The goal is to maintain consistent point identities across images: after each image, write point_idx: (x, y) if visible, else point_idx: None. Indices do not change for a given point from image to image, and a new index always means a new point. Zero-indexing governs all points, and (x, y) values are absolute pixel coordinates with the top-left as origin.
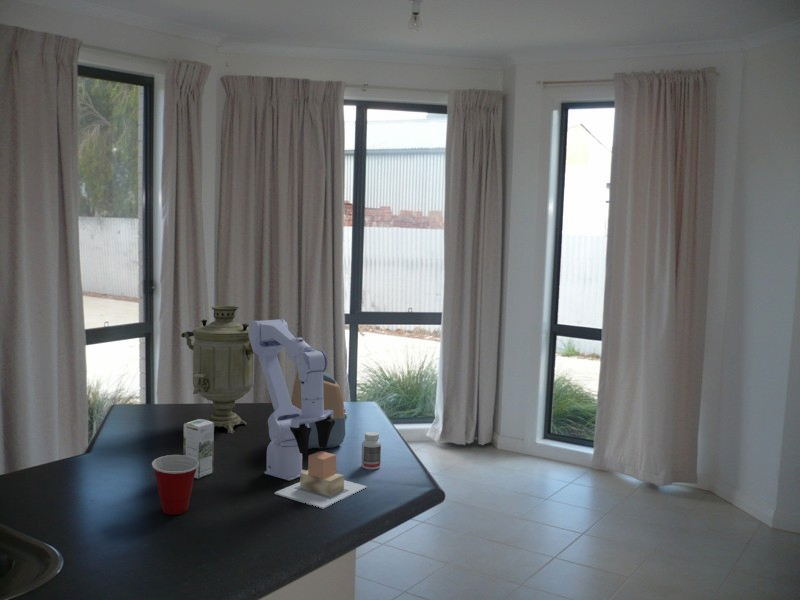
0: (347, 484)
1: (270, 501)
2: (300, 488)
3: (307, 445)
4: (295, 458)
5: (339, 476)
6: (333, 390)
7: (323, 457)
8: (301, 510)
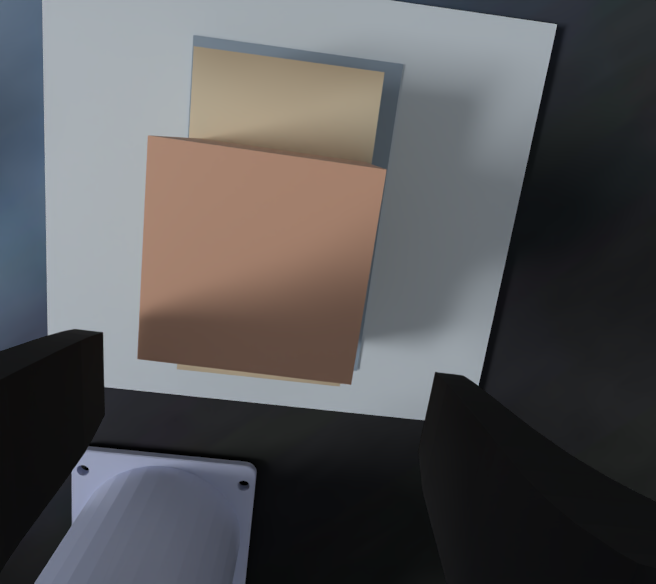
0: (100, 111)
1: (573, 375)
2: None
3: (488, 414)
4: (157, 555)
5: (242, 67)
6: None
7: (317, 212)
8: (626, 141)
